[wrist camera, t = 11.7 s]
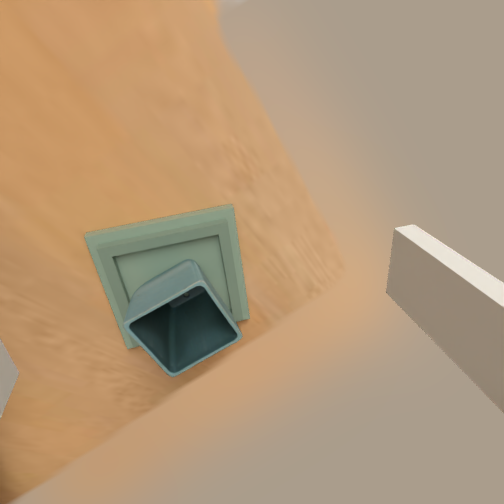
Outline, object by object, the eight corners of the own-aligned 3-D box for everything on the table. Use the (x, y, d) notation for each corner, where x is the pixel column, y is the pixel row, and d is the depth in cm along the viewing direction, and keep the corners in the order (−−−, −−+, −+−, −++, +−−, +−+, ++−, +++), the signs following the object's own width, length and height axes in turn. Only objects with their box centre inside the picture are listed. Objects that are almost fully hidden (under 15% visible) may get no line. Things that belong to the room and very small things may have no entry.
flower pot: (192, 237, 41) (202, 279, 33) (228, 290, 46) (244, 338, 38) (125, 275, 41) (119, 325, 34) (167, 324, 46) (171, 379, 38)
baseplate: (127, 342, 47) (126, 355, 45) (86, 232, 39) (82, 242, 37) (247, 312, 50) (252, 324, 47) (231, 203, 42) (235, 211, 39)
